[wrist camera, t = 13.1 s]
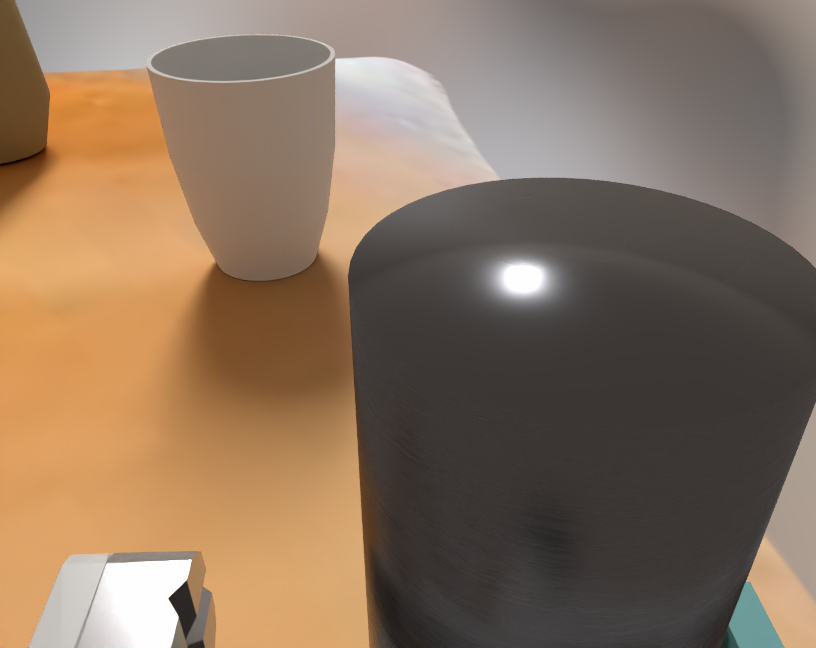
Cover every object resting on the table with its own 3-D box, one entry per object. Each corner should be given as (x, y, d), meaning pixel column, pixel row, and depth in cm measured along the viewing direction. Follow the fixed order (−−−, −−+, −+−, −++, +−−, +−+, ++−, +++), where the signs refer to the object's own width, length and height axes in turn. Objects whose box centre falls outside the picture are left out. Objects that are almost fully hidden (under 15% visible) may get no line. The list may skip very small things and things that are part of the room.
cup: (335, 215, 42) (323, 30, 36) (357, 287, 35) (346, 74, 30) (189, 229, 41) (152, 39, 35) (183, 307, 34) (137, 87, 28)
